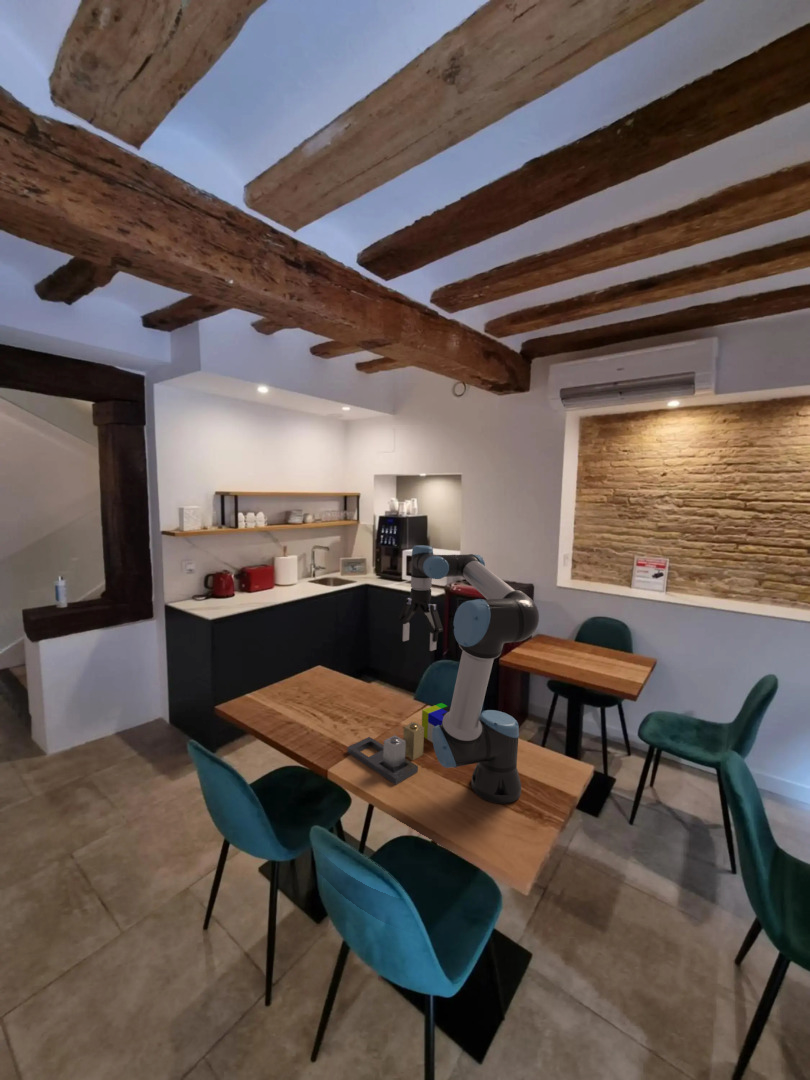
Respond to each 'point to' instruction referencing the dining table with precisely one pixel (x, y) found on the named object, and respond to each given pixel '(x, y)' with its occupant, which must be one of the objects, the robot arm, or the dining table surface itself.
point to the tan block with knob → (413, 740)
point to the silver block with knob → (394, 754)
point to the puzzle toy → (433, 718)
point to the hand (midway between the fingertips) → (418, 645)
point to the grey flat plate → (380, 761)
